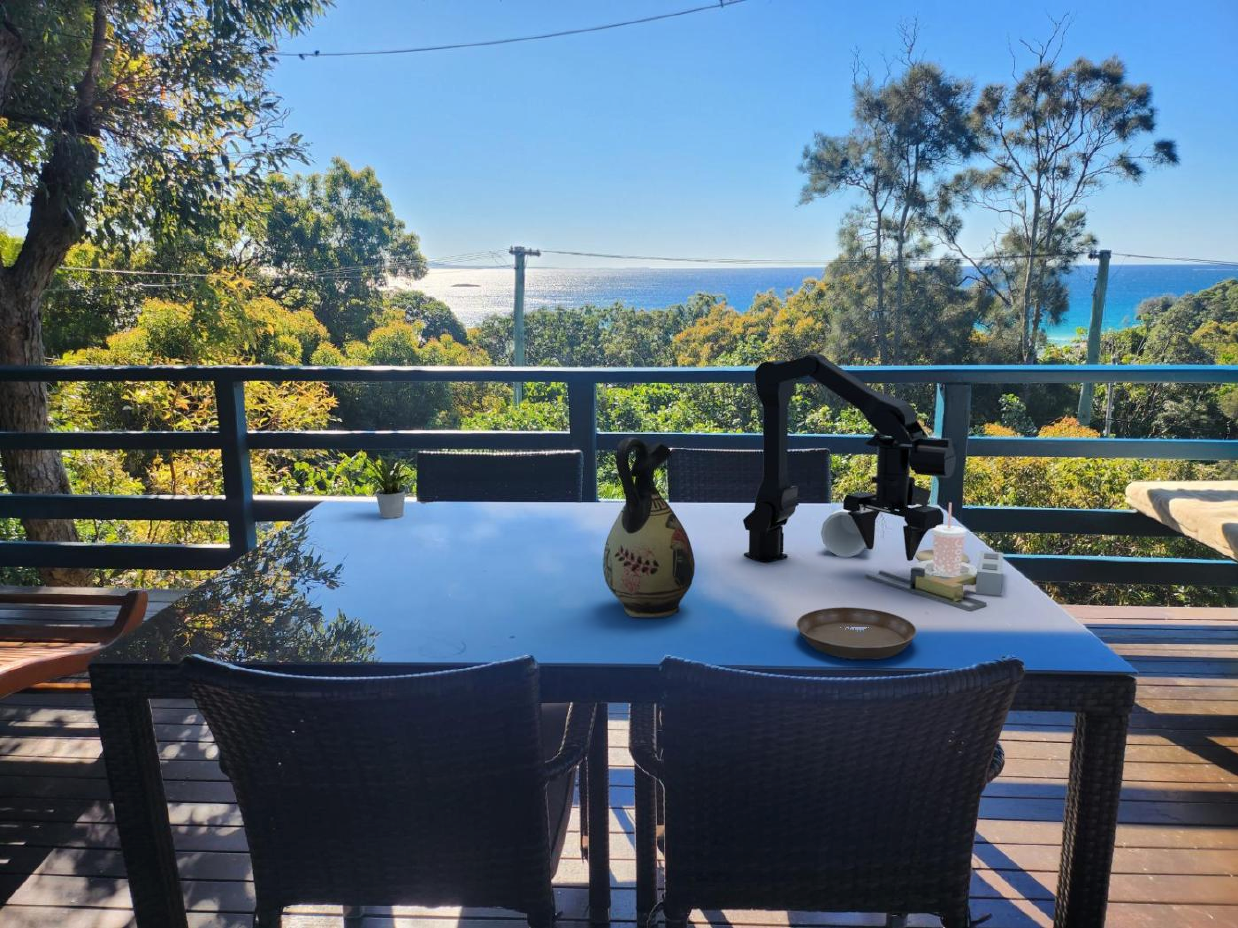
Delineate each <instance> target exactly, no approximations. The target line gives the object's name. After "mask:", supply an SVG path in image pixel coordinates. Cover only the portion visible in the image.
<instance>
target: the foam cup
mask: <svg viewBox="0 0 1238 928" xmlns="http://www.w3.org/2000/svg"><path fill="white" fill-rule="evenodd" d="M848 512H850V511H848V510H844V509H843V508H841V509H839V510H836V511H834V512H832V513H830V514H829V516H828V517H827V518H826V519H825V520H824V521H823V523H822V527H821V531H820V535H821V540H822V543H823V544H824V546H825V548H826V549H827V550H828V551H829V552H830V553H833V554H834V555H836V556H837V557H842V558H845V557H846V558H851V557H854V556H856V555H859V554H860V553H862V551H863V550H864V549H865V548H867V546H866V544H865V542H864V540H863V538H862V535H861V533H860V531H859V529H858V527H857V525H856V524H855V522H854V520H853V518H852V516H851V515H848Z"/></svg>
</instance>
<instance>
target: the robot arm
mask: <svg viewBox="0 0 1238 928" xmlns="http://www.w3.org/2000/svg"><path fill="white" fill-rule="evenodd" d="M753 376H754V384H755V391H756V395H757V397H758V398H759V401H760V404H761V406H762V426H763V427H762V431H763V432H762V435H763V436H762V441H763V442H762V479H761V483H760V485H759V487H758V489H757V492H756V497H755V500H754V501H755V502H754V508H753V510H752V511H751V512H750V513H748V514H747V516H745V518H743V520H742V522H743V525H744V528H745V529H744V530H746V531H748V551H747V552H744V553H743V556H744V557H747V558H750V559H753V560H756V561H759V562H763V563H769V562H772V561H776V560H777V561H778V560H782V559H786V558H788V554H786V553H784V532H783V531H784V530H783V527H784V526H785V525H787V523H788V521H789V518H790V517H792V515H794V513H795V512H796V507H798V506H799V501H798V492H799V486H798V485H792V484H791V482H790V480H789V478H788V450H789V448H788V444H789V443H788V439H789V437H788V435H789V434H788V424H789V423H788V421H789V419H788V417H789V414H788V413H789V412H788V411H789V410H788V409H789V404H790V402H791V400H792V397H793V394H794V392H795V389H796V388H795V387H796V382H797V380H801V379H805V378H808V377H810V378H812V379H813V380H814V381H817V383H819V384H821V385H822V386H824V387H825V388H827V389H828V390H829V391H831V392H832V393H834V394H835V395H836V396H838V397H839V398H842V400H844V401H846V402H848V403H849V404H850V405H852V406H853V407H854V408H856V409H858V410H859V412H860V413H862V415H863V417H864V418H865V420H866V421H867V422H868V423H869V425H871V427H873V428H874V429H875V430H876V431H877V432H875V433H874V434H873V436H872V437H871V438H869V440H867V441H866V443H865V445H866V446H867V447H877V454H876V455H877V457H876V476H871V483H874V484H875V493H872V492H866V491H859V492H853V493H849V494H846V495H845V497H844V499H843V500H842V501H843V502H842V503H843V505H842V506H843V507H842V509H844V510H848V511H850V512H848V515H851V516H852V518H853V520H854V522H855V524H856V525H857V527H858V529H859V531H860V533H861V535H862V538H863V540H864V542H865V544H866V549H868V551H869V550H873V549H874V544H875V532H876V531H875V530H876V520H877V519H878V516H879V514H880V513H885V514H890V515H894V516H897V517H902V518H904V522H905V523H906V525H903V528H902V530H903V538H904V539H903V540H904V549H905V555H906V561H907V562H911V561H913V560H914V557H916V554H917V552H918V549H919V546H920V545H921V542H922V540H923V538H924V537H925V535H926V534H927V532H929V531H930V530H932V528H935V527H936V526H938V525H944V517H945V515H944V512H943V511H942V509H941V508H940V507H933V506H929V505H928V504H929V501H930V497H931V493H932V490H930V489H928V488H924V487H922V486H918V485H916V479H915V477H914V476H911V475H910V470H911V471H914V473H915V475H921V476H922V475H923V476H931V477H937V478H948V479H950V478H951V476H953V474H954V471H955V467H956V462H957V461H956V460H957V455H956V454H955V453H956V452H955V448H954V446H953V439H952V438H950V437H949V438H947V437H945V438H944V437H942V438H935V437H929V435H928V434H927V433H926V432H925V430H924V428H923V427H922V425H921V423H919V421H918V420H917V414H916V413H917V412H916V409H915V407H914V406H913V405H912V404H911V403H909V402H907V401H904V400H903V399H900V398H898V397H895V396H892V395H889V394H886V393H883V392H880V391H877V390H876V389H873V388H872V387H870V386H869V385H867V384H866V383H865V382H863V381H862V380H860V379H858V378H857V377H855V376H854V375H853V374H851V373H849V372H847V371H846V370H844V369H843V368H842V367H840V366H839V365H837V364H836V363H834V362H832V361H831V360H829V359H828V358H827V357H826V356H825V355H824V354H822V353H813V354H806V355H805V356H803V357H800V358H797V359H791V360H787V359H776V360H769V361H763V362H761V363H760V364H759V365H758V366H757V367H756V368H755V369H754V375H753ZM916 505H918V506H916ZM909 506H911V507H909ZM913 506H914V507H913Z"/></svg>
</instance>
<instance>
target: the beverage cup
mask: <svg viewBox="0 0 1238 928" xmlns="http://www.w3.org/2000/svg"><path fill="white" fill-rule="evenodd" d="M952 504H953V503H952V502H948V515H947V516H948V517H947V518H948V519H947V524H941V525H937V526H936V527H935V528H932V529H931V534H933V535H932V536H933V539H932V540H933V541H932V542H933V545H932V546H933V549H932V550H934V570H933V572H935V573H941V574H951V575H957V574H961V572H960V569H961V561H962V554H963V551H964V550H963V549H964V545H965V544H964V543H965V542H964V541H965V537H966V535H967V529H966V528H964V527H962V526H959V525H958V526H957V525H951V523H952Z"/></svg>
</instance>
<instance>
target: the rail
mask: <svg viewBox="0 0 1238 928" xmlns="http://www.w3.org/2000/svg"><path fill="white" fill-rule="evenodd" d="M878 574H879V575H882V576H885V577H888V578H891V579H894V580H897V581H901V582H904V583H906V584H910V578H908V577H905V576H901V575H898V574H895V573H892V572H887V571H884V570H882V569H880V570H878ZM864 578H866V579H868V580H872V581H875V582H878V583H882V584H884V585H887V586H891V587H894V588H897V589H898V590H899V589H901V590H902V591H906V592H908V593H909V592H910V593H913V594H916V595H919V596H922V597H925V598H927V599H931V600H934V601H937V602H941V603H943V604H947V605H950V606H953V607H957V608H959V609H962V610H965V611H968V612H971V611H974V610H979V609H981V608H984V607H986V606H987V602H986V601H983V600H980V599H977V598H972V597H971V596H970V597H969V596H966V595H965V594H963V599H961V600H962V601H964V602H968V603H971V604H972V605H967V604H964V603H961V602H958V601H952V600H949V599H946V598H942V597H939V596H936V595H933V594H930V593H927V592H923V591H920V590H917V589H914V588H911V587H910V586H908V585H904V584H901V583H898V582H894V581H892V580H889V579H885V578H881V577H879V576H875V575H872V574H869V573H866V574H865V575H864ZM961 600H960V601H961Z"/></svg>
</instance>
